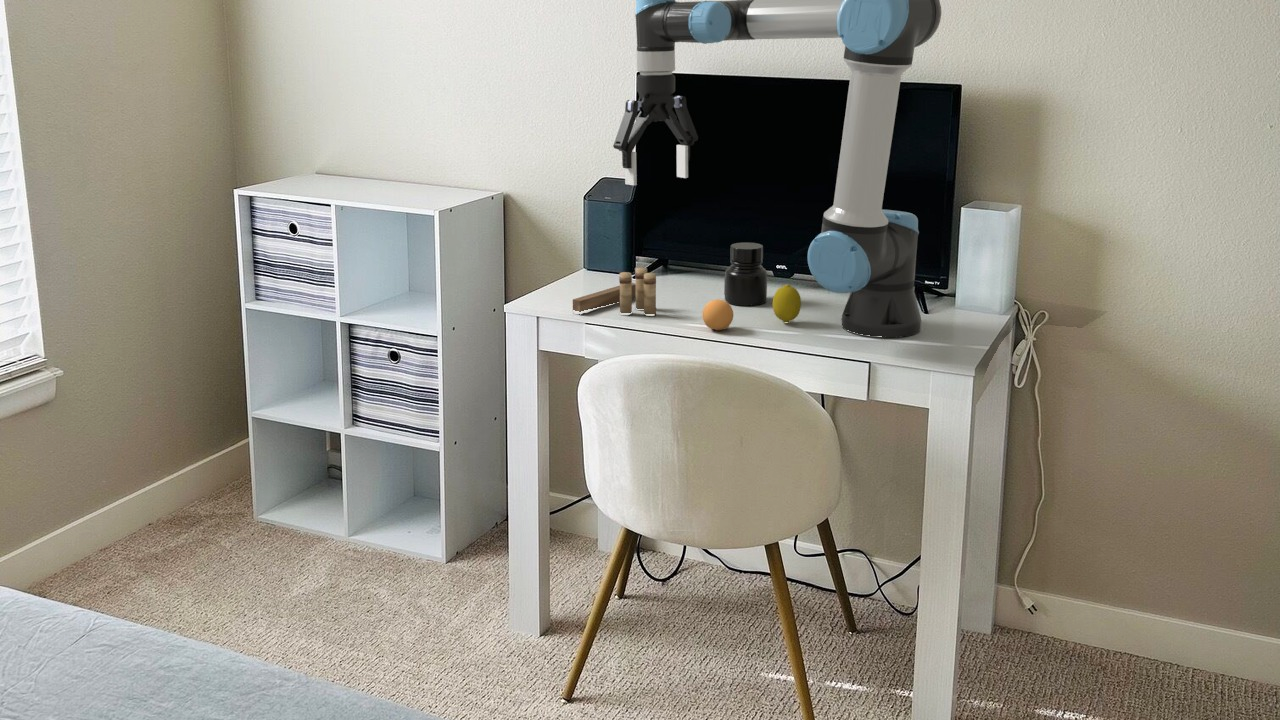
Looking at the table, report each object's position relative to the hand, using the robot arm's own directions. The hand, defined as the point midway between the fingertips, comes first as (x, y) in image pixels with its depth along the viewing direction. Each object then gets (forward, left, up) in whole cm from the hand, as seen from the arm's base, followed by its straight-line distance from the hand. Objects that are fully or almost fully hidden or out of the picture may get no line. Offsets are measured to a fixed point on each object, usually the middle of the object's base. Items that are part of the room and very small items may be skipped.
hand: (657, 181), depth 236 cm
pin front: (-3, +7, -26) cm, 27 cm away
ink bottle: (-12, -14, -26) cm, 32 cm away
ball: (-20, +7, -23) cm, 32 cm away
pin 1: (+1, +9, -26) cm, 28 cm away
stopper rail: (+9, +7, -26) cm, 28 cm away
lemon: (-28, -5, -26) cm, 39 cm away
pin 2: (+1, +4, -26) cm, 26 cm away
